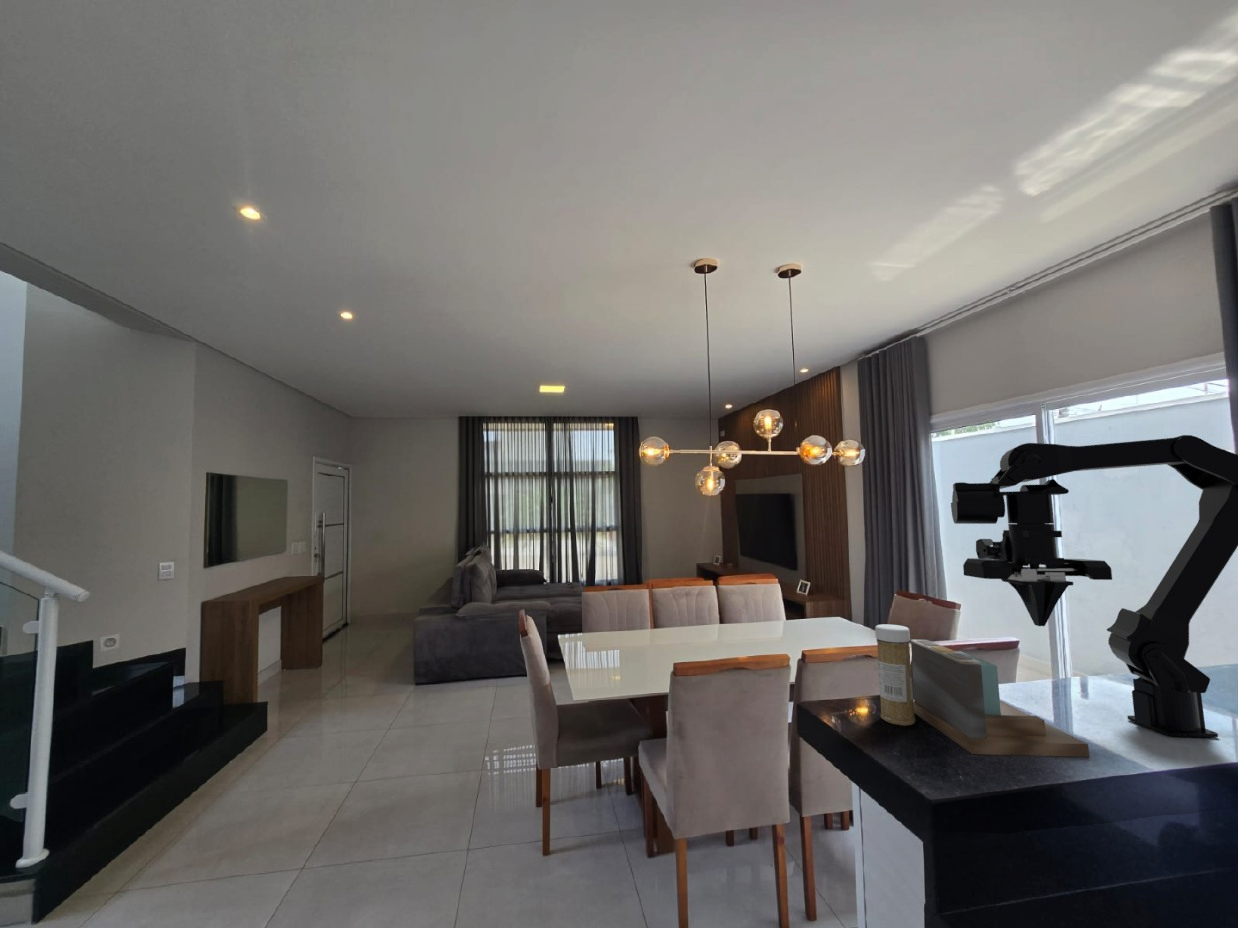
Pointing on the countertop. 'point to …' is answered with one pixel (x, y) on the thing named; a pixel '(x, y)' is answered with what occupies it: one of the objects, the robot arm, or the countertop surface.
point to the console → (978, 709)
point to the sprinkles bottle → (895, 674)
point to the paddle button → (989, 686)
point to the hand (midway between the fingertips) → (1039, 625)
